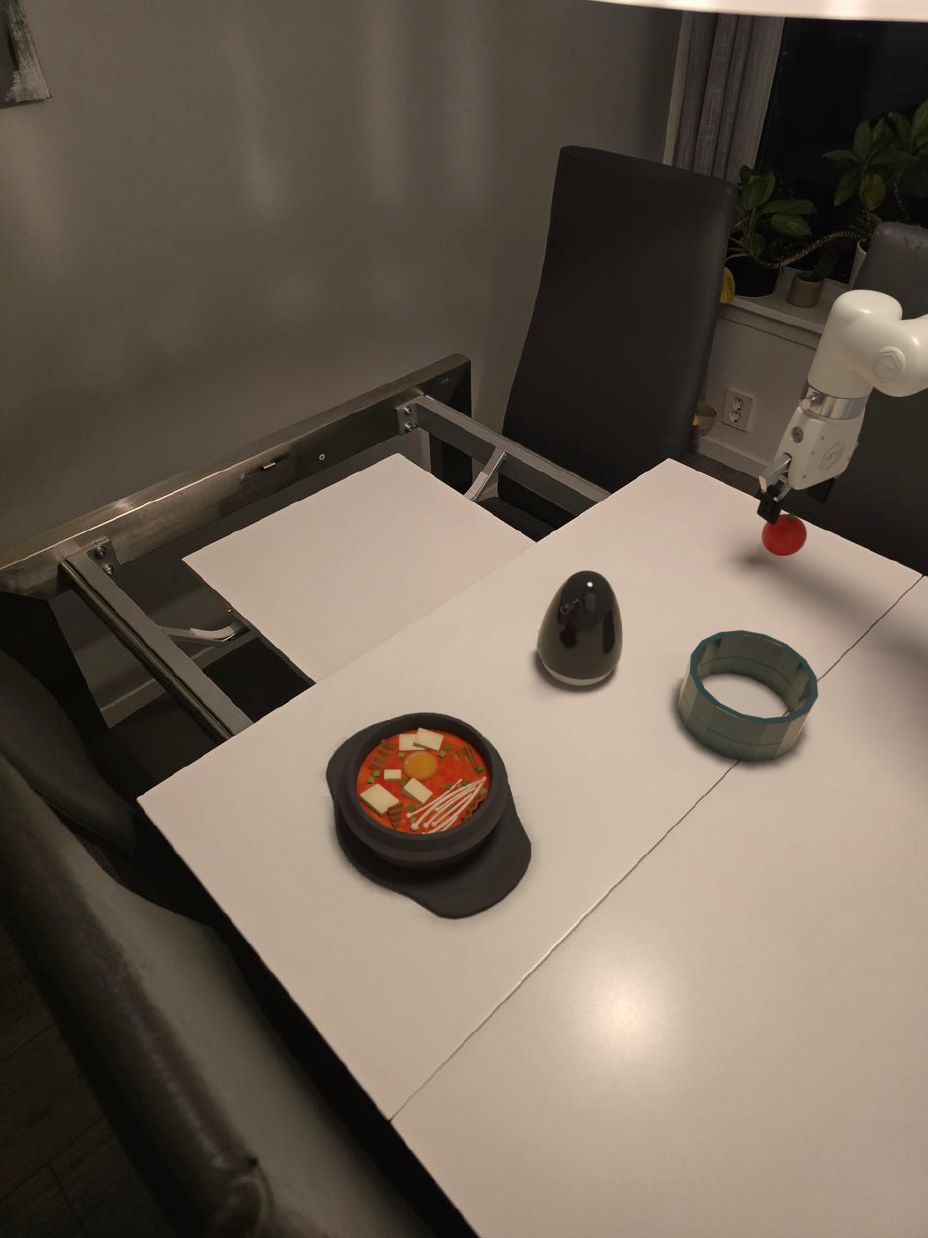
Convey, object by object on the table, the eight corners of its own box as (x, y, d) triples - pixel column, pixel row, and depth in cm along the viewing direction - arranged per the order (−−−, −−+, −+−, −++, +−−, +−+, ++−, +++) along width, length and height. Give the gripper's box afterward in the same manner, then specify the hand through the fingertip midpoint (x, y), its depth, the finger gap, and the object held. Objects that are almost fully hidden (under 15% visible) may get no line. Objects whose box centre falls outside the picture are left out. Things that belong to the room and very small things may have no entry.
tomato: (792, 538, 116) (806, 500, 111) (804, 564, 112) (820, 526, 107) (752, 538, 116) (764, 500, 111) (763, 564, 112) (776, 526, 107)
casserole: (572, 850, 80) (580, 805, 74) (426, 967, 71) (423, 926, 66) (425, 702, 94) (422, 654, 88) (288, 785, 85) (275, 738, 79)
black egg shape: (518, 674, 97) (525, 583, 86) (562, 627, 103) (574, 536, 92) (589, 714, 92) (605, 623, 82) (631, 662, 98) (652, 571, 88)
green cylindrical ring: (736, 661, 99) (753, 615, 93) (821, 736, 90) (844, 691, 85) (652, 702, 94) (664, 657, 88) (733, 787, 85) (753, 742, 80)
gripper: (807, 429, 92) (766, 542, 104) (905, 393, 98) (855, 504, 110) (761, 400, 96) (726, 512, 108) (857, 368, 102) (814, 477, 114)
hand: (791, 508), depth 109 cm, fingers open, 9 cm apart
